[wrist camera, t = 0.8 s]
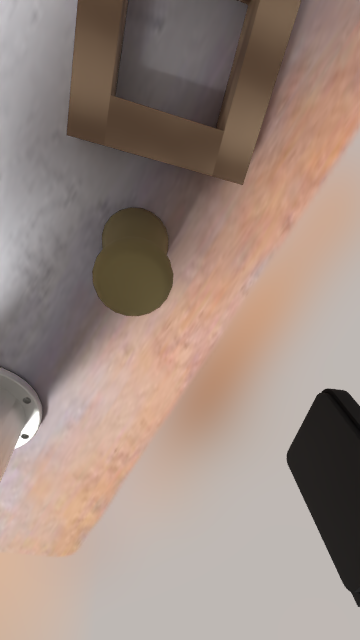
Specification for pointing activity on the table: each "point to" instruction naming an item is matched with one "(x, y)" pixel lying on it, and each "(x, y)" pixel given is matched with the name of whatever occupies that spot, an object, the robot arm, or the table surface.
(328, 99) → the table surface
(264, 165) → the table surface
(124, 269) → the cork
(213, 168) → the socket block
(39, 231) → the table surface
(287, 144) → the table surface
